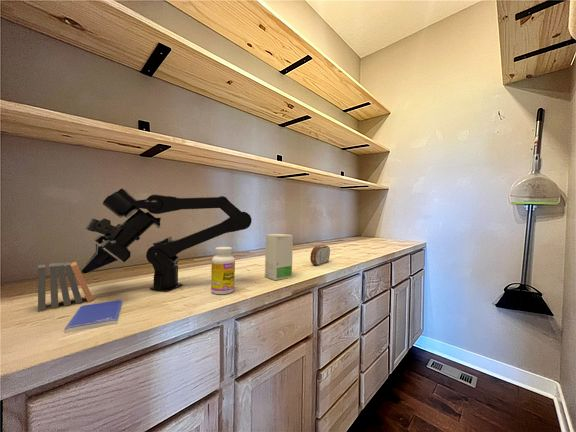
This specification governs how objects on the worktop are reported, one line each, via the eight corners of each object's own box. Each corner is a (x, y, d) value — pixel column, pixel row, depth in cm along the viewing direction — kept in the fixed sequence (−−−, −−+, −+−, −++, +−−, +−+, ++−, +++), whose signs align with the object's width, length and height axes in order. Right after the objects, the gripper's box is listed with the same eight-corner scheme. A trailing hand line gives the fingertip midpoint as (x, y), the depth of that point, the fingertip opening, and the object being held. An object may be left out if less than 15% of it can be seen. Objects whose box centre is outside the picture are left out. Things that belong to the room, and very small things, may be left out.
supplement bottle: (222, 296, 66) (223, 250, 66) (206, 292, 69) (206, 248, 69) (239, 290, 72) (239, 247, 72) (223, 286, 75) (223, 245, 75)
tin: (325, 261, 118) (325, 243, 118) (331, 261, 117) (331, 244, 116) (309, 266, 106) (309, 247, 106) (315, 267, 104) (316, 247, 104)
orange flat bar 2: (80, 297, 63) (69, 261, 62) (82, 301, 60) (70, 264, 58) (74, 299, 62) (62, 263, 61) (76, 304, 59) (63, 266, 58)
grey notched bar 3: (69, 299, 62) (62, 262, 61) (70, 304, 59) (63, 264, 58) (63, 301, 61) (56, 263, 60) (64, 306, 58) (56, 266, 57)
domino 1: (45, 304, 59) (45, 264, 58) (45, 310, 56) (45, 267, 55) (38, 306, 58) (38, 264, 58) (37, 311, 55) (38, 267, 55)
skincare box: (275, 281, 82) (275, 235, 82) (263, 277, 87) (264, 234, 87) (293, 277, 88) (293, 234, 87) (281, 273, 92) (282, 233, 92)
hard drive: (117, 318, 50) (122, 299, 60) (64, 327, 45) (80, 305, 56) (117, 326, 50) (122, 305, 60) (64, 335, 45) (80, 312, 56)
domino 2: (57, 302, 60) (56, 262, 60) (58, 307, 57) (56, 265, 57) (51, 303, 59) (49, 263, 59) (51, 309, 56) (49, 266, 56)
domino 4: (91, 295, 65) (75, 261, 62) (93, 299, 62) (77, 264, 59) (85, 297, 64) (69, 263, 62) (87, 301, 61) (71, 266, 59)
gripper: (103, 208, 72) (52, 248, 65) (115, 208, 59) (52, 258, 51) (133, 233, 78) (89, 272, 70) (151, 238, 65) (98, 287, 57)
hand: (82, 272), depth 62 cm, fingers closed
